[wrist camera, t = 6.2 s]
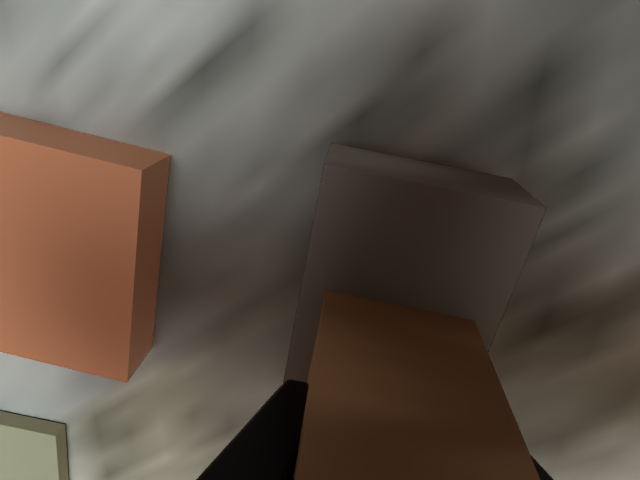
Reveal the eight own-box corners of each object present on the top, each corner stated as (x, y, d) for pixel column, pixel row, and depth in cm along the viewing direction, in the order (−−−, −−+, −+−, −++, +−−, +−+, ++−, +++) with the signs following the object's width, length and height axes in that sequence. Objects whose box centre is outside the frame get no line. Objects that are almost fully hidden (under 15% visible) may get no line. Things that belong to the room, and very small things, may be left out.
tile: (177, 151, 11) (141, 169, 10) (158, 338, 14) (127, 382, 12) (-52, 94, 11) (-132, 102, 10) (-32, 292, 14) (-92, 329, 12)
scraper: (511, 178, 10) (975, 570, 2) (415, 444, 13) (484, 967, 6) (331, 142, 10) (234, 418, 2) (279, 416, 13) (169, 896, 6)
